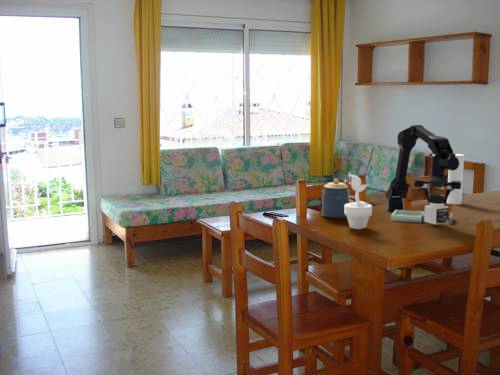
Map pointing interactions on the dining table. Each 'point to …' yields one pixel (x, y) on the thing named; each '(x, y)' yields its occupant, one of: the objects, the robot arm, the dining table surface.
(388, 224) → the dining table surface
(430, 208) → the medicine bottle
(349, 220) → the potted plant
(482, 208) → the dining table surface
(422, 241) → the dining table surface
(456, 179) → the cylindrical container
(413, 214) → the tray
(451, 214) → the dock
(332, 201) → the canister
